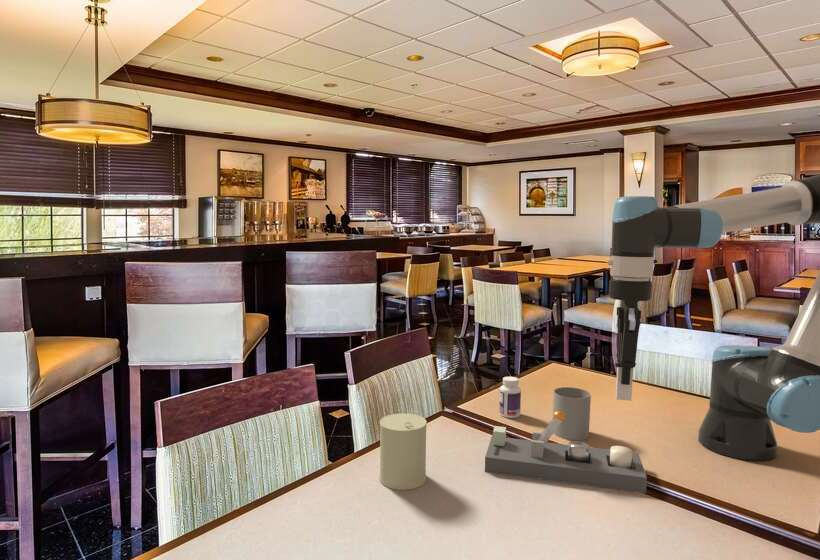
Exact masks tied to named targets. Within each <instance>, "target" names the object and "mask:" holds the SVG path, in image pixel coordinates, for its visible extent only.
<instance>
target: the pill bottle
mask: <svg viewBox="0 0 820 560" xmlns="http://www.w3.org/2000/svg"><path fill="white" fill-rule="evenodd" d="M499 387H500V388H499V411H498V412H499V416H501V417H503V418H506V419H507V418H508V419H515V418H516V419H517V418H519V417H520V416H521V406H522V405H521V397H522V396H521V395H522V390H521V387H520V386H519V378H518V377H515V376H504V377H502V385H501V386H499Z"/></svg>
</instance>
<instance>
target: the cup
mask: <svg viewBox="0 0 820 560" xmlns="http://www.w3.org/2000/svg"><path fill="white" fill-rule="evenodd" d="M591 399H592V395H591V393H590V392H589V391H588V390H587V389H586V390H585V389H583V388H578V387H570V386H569V387H568V386H567V387H566V386H565V387H556V388H555V389H554V390H553V400H552V402H553V405H552V415H553V414H554V413H555V412H556V411H562V412H563V413H564V414H565V420H564V422H562V423H560V424H559V426H558V427H557V429H556V430H555V432H554V433H553V434H552V435H554V436H555V437H558V438H560V439H563V440H569V441H583V440H586V439H588V438H589V436H590V423H591V422H590V420H591V401H592V400H591Z"/></svg>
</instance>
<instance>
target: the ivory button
mask: <svg viewBox="0 0 820 560" xmlns="http://www.w3.org/2000/svg"><path fill="white" fill-rule="evenodd" d="M609 450H610V466H612V467H620V468H628V469H631V465H632V452H633V450H632V449H630V448H629V447H627V446H623V445H612V446H610V449H609Z"/></svg>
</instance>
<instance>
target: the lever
mask: <svg viewBox="0 0 820 560" xmlns="http://www.w3.org/2000/svg"><path fill="white" fill-rule="evenodd" d="M564 420H565V414H564V413H563V412H562V411H556V412H555V413H554V414H553V413H552V418H551V419H550V421H549V422H548V424H547V426H546V427H545V428H544V429H543V431H542V434H541V435H540V437H539V438H538V440H537V441H544V446H545V444H546V443H548V441H549V440H550V439H551V437H552V436H553V435H554V434H553V433H554V432H555V430H556V429H557V427H558V426H559V424H560V423H562V422H564Z"/></svg>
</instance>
